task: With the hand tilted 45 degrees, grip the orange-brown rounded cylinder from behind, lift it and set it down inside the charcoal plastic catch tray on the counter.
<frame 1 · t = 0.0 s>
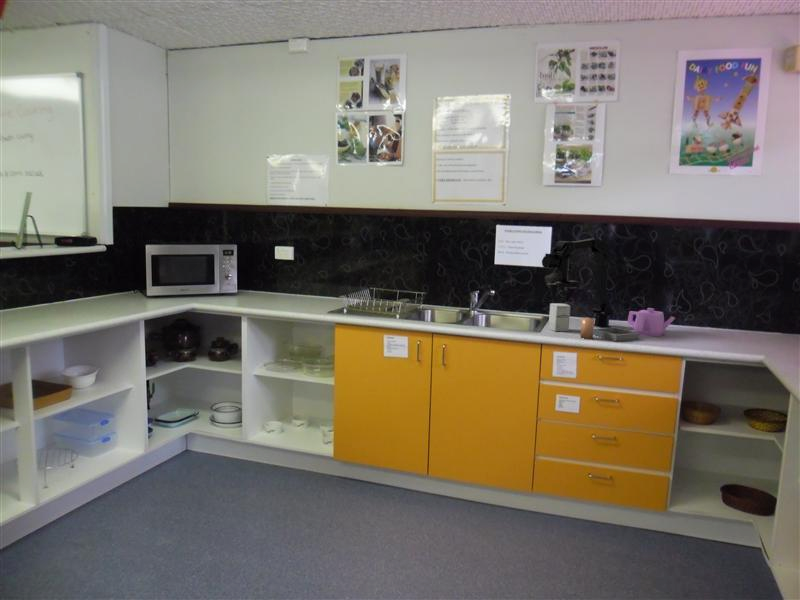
hand: (560, 300, 299), 15 cm above the counter, tool pointing down, fingers open, 9 cm apart
orange-brown rounded cylinder: (586, 338, 285), on the counter
catch tray: (615, 337, 288), on the counter
supplement box: (558, 330, 302), on the counter
teakettle: (649, 334, 299), on the counter
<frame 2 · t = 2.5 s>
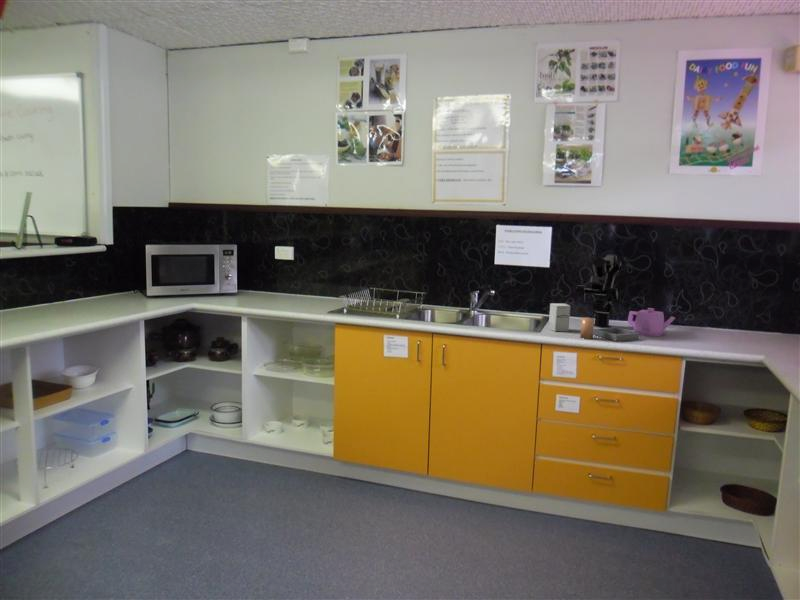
hand: (592, 306, 290), 13 cm above the counter, tool tilted 45°, fingers open, 9 cm apart
nothing on the counter moved.
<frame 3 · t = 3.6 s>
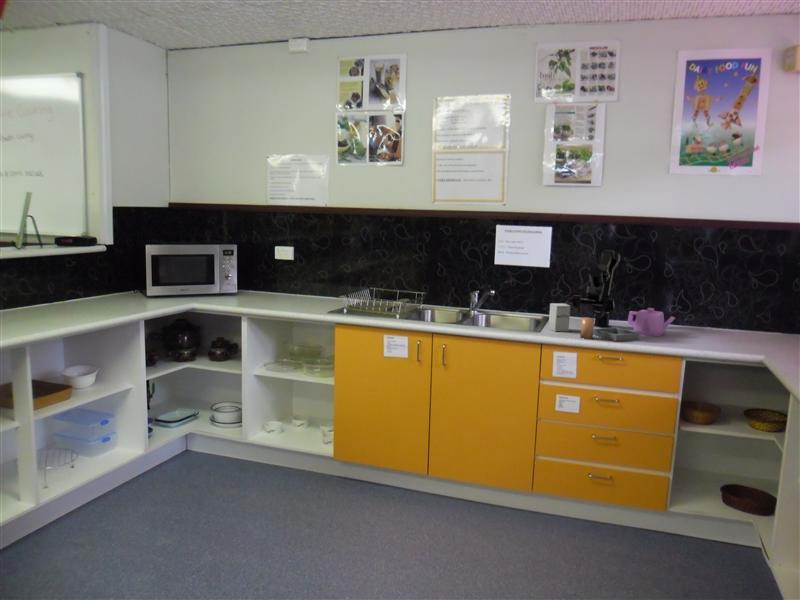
hand: (589, 317, 286), 9 cm above the counter, tool tilted 45°, fingers open, 9 cm apart
nothing on the counter moved.
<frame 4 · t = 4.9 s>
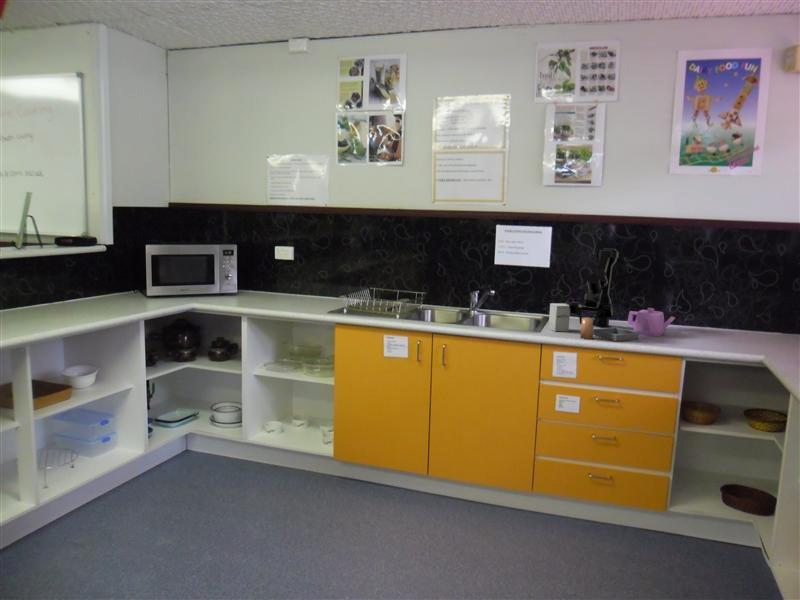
hand: (586, 324, 283), 7 cm above the counter, tool tilted 45°, fingers closed on orange-brown rounded cylinder, 5 cm apart
orange-brown rounded cylinder: (586, 338, 285), on the counter, touching gripper
everything else where it was.
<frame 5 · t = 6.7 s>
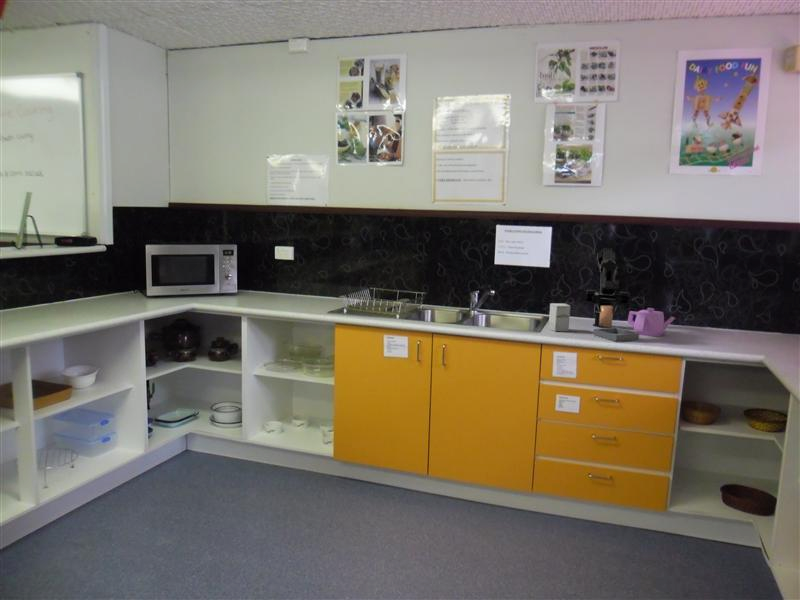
hand: (606, 311, 283), 12 cm above the counter, tool tilted 45°, fingers closed on orange-brown rounded cylinder, 5 cm apart
orange-brown rounded cylinder: (605, 325, 285), point 6 cm above the counter, touching gripper
everything else where it was.
when the fingers open (8 cm above the counter, at t = 8.4 s): orange-brown rounded cylinder drops 1 cm, resting on catch tray.
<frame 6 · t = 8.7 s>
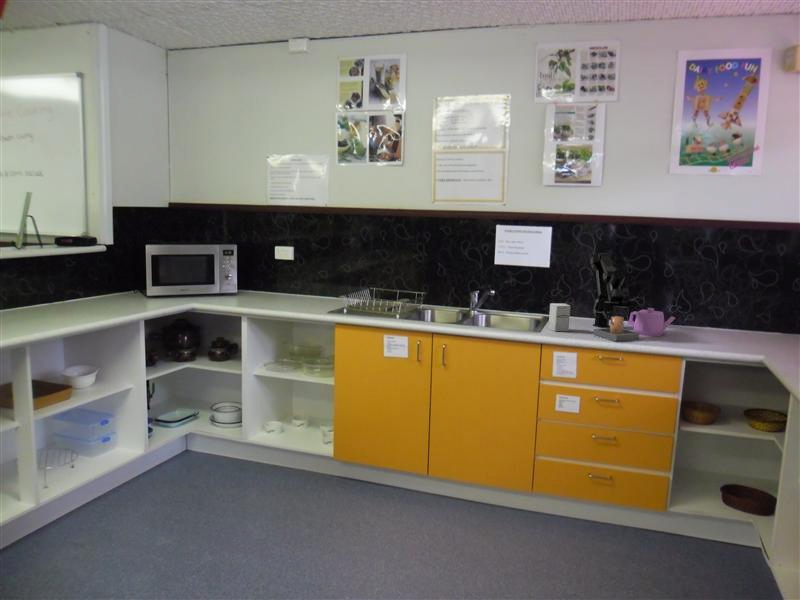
hand: (617, 319, 285), 9 cm above the counter, tool tilted 45°, fingers open, 9 cm apart
orange-brown rounded cylinder: (615, 336, 288), point 1 cm above the counter, touching catch tray
everything else where it was.
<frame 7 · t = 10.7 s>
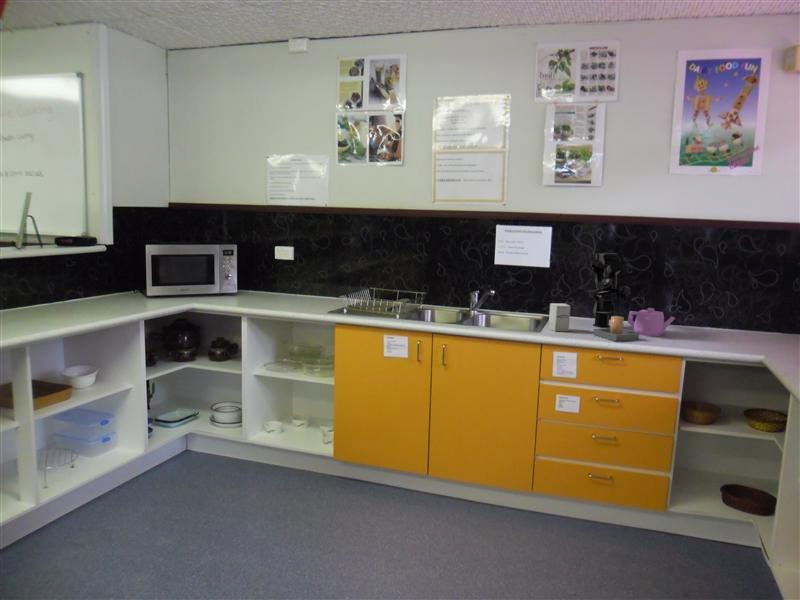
hand: (609, 309, 297), 11 cm above the counter, tool tilted 25°, fingers open, 9 cm apart
nothing on the counter moved.
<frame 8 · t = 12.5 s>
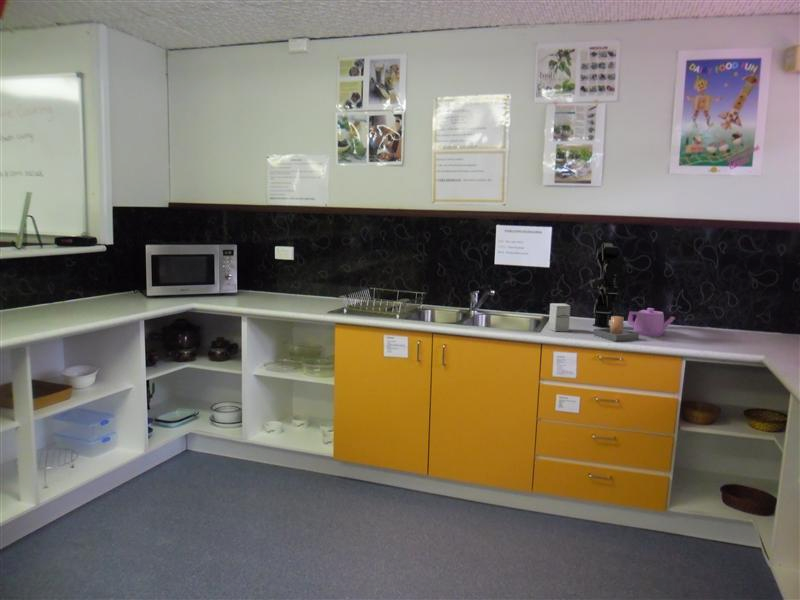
hand: (606, 305, 297), 13 cm above the counter, tool pointing down, fingers open, 9 cm apart
nothing on the counter moved.
at the end: orange-brown rounded cylinder inside the target area on the catch tray (0.0 cm from its centre), point 0.6 cm above the catch tray's base; orange-brown rounded cylinder tilted 0°; the gripper is holding nothing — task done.
